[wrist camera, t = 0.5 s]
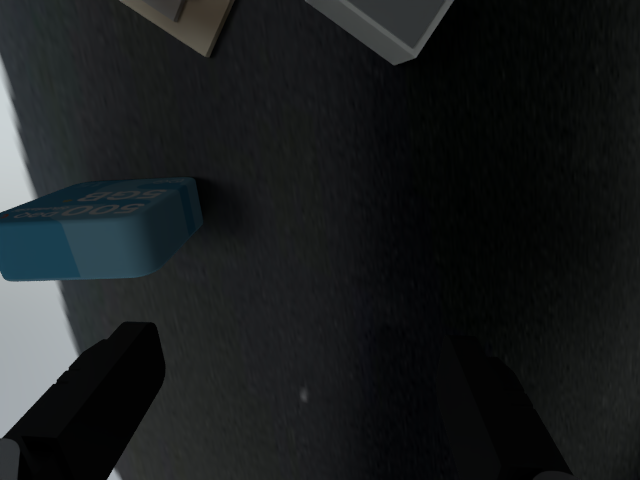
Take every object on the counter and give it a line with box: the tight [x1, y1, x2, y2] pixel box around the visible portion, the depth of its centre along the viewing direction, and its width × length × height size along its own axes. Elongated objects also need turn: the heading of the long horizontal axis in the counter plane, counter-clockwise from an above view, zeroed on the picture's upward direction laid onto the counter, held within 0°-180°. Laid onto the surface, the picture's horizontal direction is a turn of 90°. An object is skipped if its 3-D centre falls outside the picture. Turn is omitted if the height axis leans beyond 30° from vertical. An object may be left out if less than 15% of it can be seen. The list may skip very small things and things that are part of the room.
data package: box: [0, 177, 203, 281], centre depth 30 cm, size 12×4×12 cm, turn 93°
